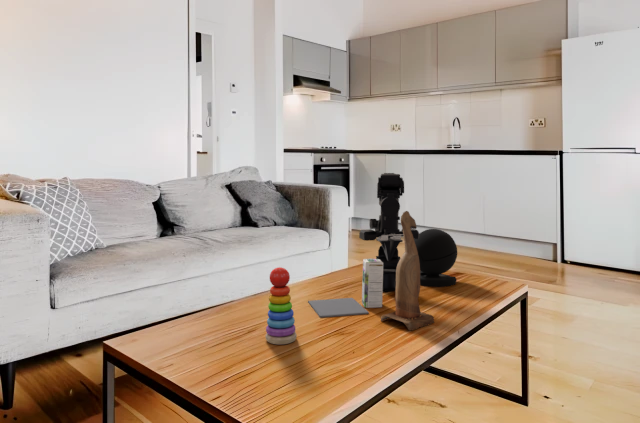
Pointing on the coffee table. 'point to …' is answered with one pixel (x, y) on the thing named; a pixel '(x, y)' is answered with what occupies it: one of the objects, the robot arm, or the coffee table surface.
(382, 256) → the robot arm
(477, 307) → the coffee table surface
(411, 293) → the bird sculpture
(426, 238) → the webcam
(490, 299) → the coffee table surface
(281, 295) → the stacking toy
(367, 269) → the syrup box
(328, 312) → the mat
